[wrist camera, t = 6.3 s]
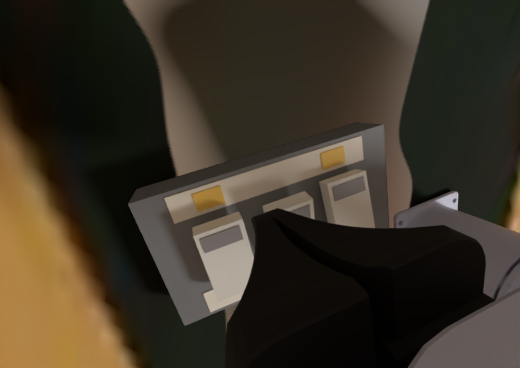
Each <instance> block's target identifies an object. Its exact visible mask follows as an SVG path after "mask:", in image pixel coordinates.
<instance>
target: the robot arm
mask: <svg viewBox="0 0 520 368" xmlns="http://www.w3.org/2000/svg"><path fill="white" fill-rule="evenodd" d="M457 208H458V193H457V192H455V191H451V192H448V193H446V194H443V195H441V196H438V197H436V198H434V199H431V200H429V201H426V202H424V203H421V204H419V205H416V206H414V207H411V208H409V209H406V210H404V211H401V212H399V213H397V214H396V215H395V216H394V228H365V227H353V226H345V225H338V224H332V223H327V222H323V221H319V220H315V219H311V218H308V217H304V216H301V215H298V214H295V213H292V212H289V211H286V210H283V209H279V208H276V209H274V210H271V211H268V212H265V213H263V214H260V215H257V216H254V217H252V219H251V222H252V226H253V229H254V232H255V253H254V260H253V265H252V269H251V273H250V276H249V280H248V283H247V285H246V288H245V290H244V292H243V295H242V297H241V300H240V302H239V304H238V306H237V307H236V309H235V311H234V313H233V315H232V316H231V318H230V320H229V322H228V323H227V332H226V343H225V368H520V233H518V232H515V231H512V230H509V229H507V228H504V227H501V226H499V225H496V224H493V223H490V222H488V221H485V220H482V219H480V218H477V217H474V216H471V215H469V214H466V213H463V212H460V211H458V210H457Z"/></svg>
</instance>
